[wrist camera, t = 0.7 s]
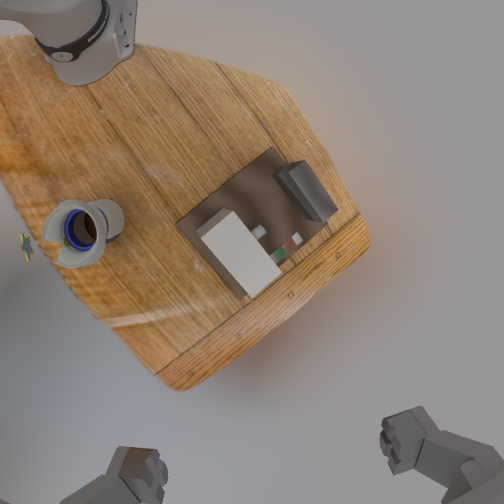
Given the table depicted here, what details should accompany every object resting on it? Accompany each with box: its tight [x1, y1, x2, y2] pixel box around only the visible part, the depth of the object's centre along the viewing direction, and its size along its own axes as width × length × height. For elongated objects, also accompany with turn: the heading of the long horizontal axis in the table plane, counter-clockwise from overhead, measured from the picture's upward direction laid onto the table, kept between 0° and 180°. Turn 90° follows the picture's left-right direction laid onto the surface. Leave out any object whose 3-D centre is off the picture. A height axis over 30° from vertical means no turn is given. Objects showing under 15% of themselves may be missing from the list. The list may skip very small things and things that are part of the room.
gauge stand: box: [175, 147, 338, 300], centre depth 51 cm, size 22×18×10 cm
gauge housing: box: [196, 208, 282, 298], centre depth 49 cm, size 8×14×9 cm, turn 38°
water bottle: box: [20, 199, 125, 268], centre depth 37 cm, size 8×9×25 cm
